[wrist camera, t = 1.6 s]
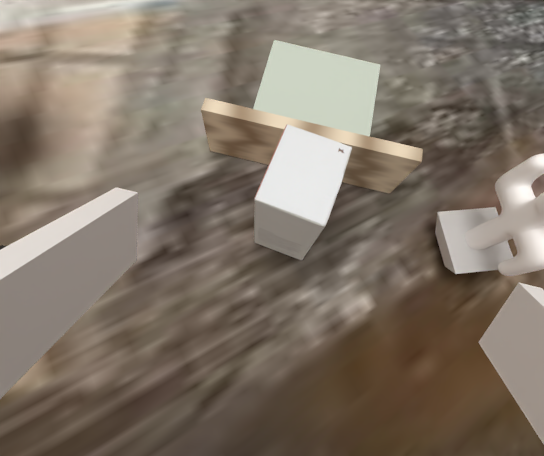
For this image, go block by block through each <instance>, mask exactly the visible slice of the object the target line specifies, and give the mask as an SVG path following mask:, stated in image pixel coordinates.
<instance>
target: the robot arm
mask: <svg viewBox="0 0 544 456" xmlns="http://www.w3.org/2000/svg"><path fill="white" fill-rule="evenodd" d="M137 222H138V192H133V191H129V190H125V189H121V188H117V187H116V188H114V189H112V190H111V191H109V192H107V193H105V194H103V195H101V196H99V197H98V198H96V199H94V200H92V201H90V202H88V203H86V204H85V205H83V206H81V207H79V208H77V209H75V210H73V211H71V212H70V213H68V214H66V215H64V216H62V217H60V218H58V219H57V220H55V221H53V222H51V223H49V224H47V225H45V226H44V227H42V228H40V229H38V230H36V231H34V232H32V233H30V234H29V235H27V236H25V237H23V238H21V239H19V240H17V241H16V242H14V243H12V244H10V245H8V246H3V245H2V246H0V399H1V398H2V397H3V396H4V395H5V394H6V393H7V391H8V390H9V389H10V388H11V387H12V386H13V385H14V384H15V383H16V382H17V381H18V380H19V379H20V378H21V377H22V376H23V375H24V374H25V373H26V372H27V371H28V370H29V369H30V368H31V367H32V366H33V365H34V364H35V363H36V362H37V361H38V360H39V359H40V358H41V357H42V356H43V355H44V354H45V353H46V352H47V351H48V350H49V349H50V348H51V347H52V346H53V345H54V344H55V343H56V342H57V341H58V340H59V339H60V338H61V337H62V336H63V335H64V334H65V333H66V332H67V331H68V330H69V329H70V328H71V327H72V326H73V325H74V323H75V322H76V321H77V320H78V319H79V318H80V317H81V316H82V315H83V314H84V313H85V312H86V311H87V310H88V309H89V308H90V307H91V306H92V305H93V304H94V303H95V302H96V301H97V300H98V299H99V298H100V297H101V296H102V295H103V294H104V293H105V292H106V291H107V290H108V289H109V288H110V287H111V286H112V285H113V284H114V283H115V282H116V281H117V280H118V279H119V278H120V277H121V276H122V275H123V274H124V273H125V272H126V271H127V270H128V269H129V268H130V267H131V266H132V265H133V264H134V263H135V262H136V261H137ZM479 344H480V346H481V347H482V349H483V350H484V352H485V353H486V355H487V357H488V358H489V360H490V361H491V363H492V364H493V366H494V367H495V369H496V371H497V372H498V374H499V375H500V377H501V378H502V380H503V382H504V383H505V385H506V386H507V388H508V389H509V391H510V392H511V394H512V396H513V397H514V399H515V400H516V402H517V403H518V405H519V407H520V408H521V410H522V411H523V413H524V414H525V416H526V418H527V419H528V421H529V422H530V424H531V425H532V427H533V428H534V430H535V432H536V433H537V435H538V436H539V438H540V439H541V441H542V443H543V444H544V290H543V289H542V288H539V287H535V286H531V285H526V284H522V283H518V284H517V286H516V287H515V289H514V290H513V292H512V293H511V295H510V296H509V298H508V299H507V301H506V302H505V304H504V305H503V307H502V308H501V310H500V311H499V313H498V314H497V316H496V317H495V319H494V320H493V322H492V323H491V324H490V326H489V327H488V329H487V330H486V332H485V333H484V335H483V336H482V338H481V339H480V341H479Z"/></svg>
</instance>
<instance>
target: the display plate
mask: <svg viewBox="0 0 544 456" xmlns="http://www.w3.org/2000/svg"><path fill="white" fill-rule="evenodd" d="M379 71H380V64H375V63H371V62H367V61H363V60H358V59H354V58H350V57H345V56H341V55H337V54H333V53H328V52H324V51H320V50H315V49H311V48H307V47H303V46H298V45H294V44H290V43H286V42H281V41H277V40H274V42H273V46H272V49H271V52H270V55H269V59H268V62H267V65H266V69H265V72H264V75H263V78H262V82H261V85H260V88H259V91H258V95H257V98H256V101H255V104H254V108H253V109H255V110H259V111H263V112H268V113H272V114H276V115H280V116H285V117H289V118H293V119H297V120H302V121H306V122H310V123H314V124H318V125H323V126H327V127H331V128H335V129H340V130H344V131H348V132H352V133H357V134H361V135H365V136H369V137H370V131H371V124H372V117H373V111H374V104H375V97H376V91H377V84H378V77H379Z"/></svg>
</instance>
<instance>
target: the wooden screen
mask: <svg viewBox="0 0 544 456" xmlns="http://www.w3.org/2000/svg"><path fill="white" fill-rule="evenodd" d="M201 112H202V116H203V121H204V125H205V130H206V134H207V139H208V144H209V148H210V151H212V152H216V153H221V154H225V155H229V156H233V157H237V158H242V159H246V160H250V161H254V162H259V163H263V164H267V165H269V163H270V161H271V158H272V156H273V154H274V151H275V149H276V147H277V144H278V142H279V140H280V138H281V135H282V133H283V131H284V128H285V126H286V125H287V124H288V125H291V126H293V127H297V128H300V129H303V130H305V131H308V132H311V133H314V134H317V135H320V136H323V137H325V138H328V139H331V140H334V141H337V142H339V143H342V144H345V145H347V146H351V147H352V150H351V153H350V157H349V160H348V163H347V166H346V169H345V172H344V177H343V180H342V182H343V183H347V184H351V185H355V186H359V187H364V188H368V189H372V190H376V191H380V192H385V193H389V194H390V193H391V192H392V191H393V190H394V189H395V188H396V187H397V186H398V185H399V184H400V183H401V182H402V181H403V180H404V179H405V178H406V177H407V176H408V175H409V174H410V173H411V172H412V171H413V170H414V169H415V168H416V167H417V166H418V165H419V164H420V163H421V162H422V151H423V149H420V148H416V147H412V146H407V145H403V144H399V143H395V142H390V141H386V140H382V139H378V138H374V137H369V136H365V135H361V134H357V133H352V132H348V131H344V130H340V129H335V128H331V127H327V126H323V125H318V124H314V123H310V122H306V121H302V120H297V119H293V118H289V117H285V116H280V115H276V114H272V113H268V112H263V111H259V110H255V109H251V108H246V107H242V106H238V105H234V104H230V103H225V102H221V101H217V100H213V99H208V98H205V100H204V103H203V106H202V108H201Z"/></svg>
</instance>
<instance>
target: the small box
mask: <svg viewBox="0 0 544 456" xmlns="http://www.w3.org/2000/svg"><path fill="white" fill-rule="evenodd" d="M351 150H352V147H351V146H347V145H345V144H342V143H339V142H337V141H334V140H331V139H328V138H325V137H323V136H320V135H317V134H314V133H311V132H308V131H305V130H303V129H300V128H297V127H293V126H291V125H288V124H287V125H286V126H285V128H284V131H283V133H282V135H281V138H280V140H279V142H278V144H277V147H276V149H275V151H274V154H273V156H272V158H271V161H270V163H269V165H268V168H267V170H266V172H265V175H264V177H263V179H262V182H261V184H260V186H259V189H258V191H257V193H256V196H255V198H254V200H255V202H254V204H255V206H254V242H255V243H257V244H260V245H262V246H265V247H267V248H270V249H273V250H275V251H278V252H280V253H283V254H286V255H288V256H291V257H293V258H296V259H299V260H303V258H304V257H305V255H306V254H307V252H308V251H309V249H310V248H311V247H312V245H313V244H314V242H315V241H316V239H317V238H318V236H319V235H320V233H321V232H322V230H323V229H324V227H325V226H326V224H327V221H328V219H329V216H330V213H331V210H332V207H333V205H334V202H335V199H336V196H337V194H338V191H339V188H340V186H341V183H342V180H343V177H344V172H345V169H346V166H347V163H348V160H349V157H350V153H351Z"/></svg>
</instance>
